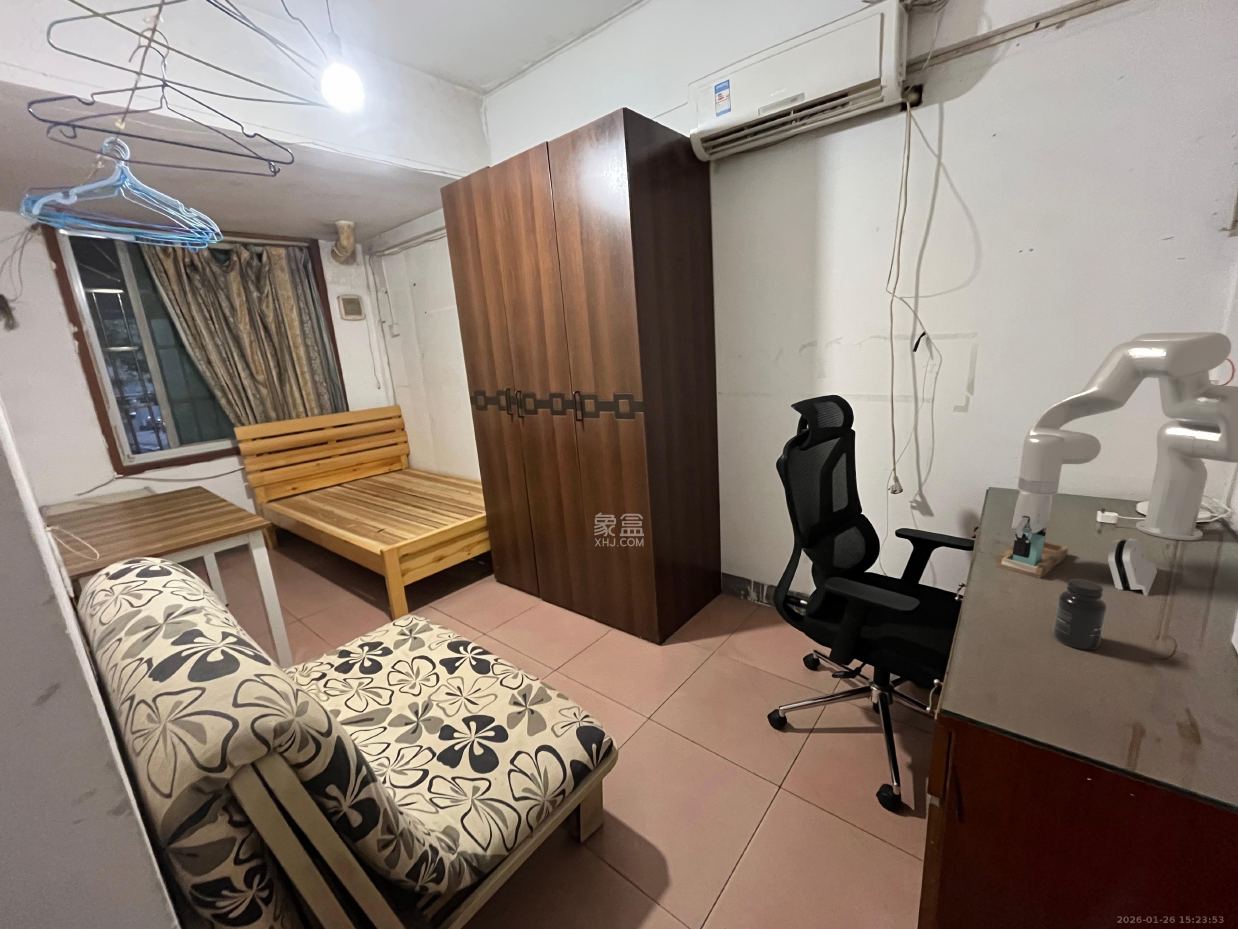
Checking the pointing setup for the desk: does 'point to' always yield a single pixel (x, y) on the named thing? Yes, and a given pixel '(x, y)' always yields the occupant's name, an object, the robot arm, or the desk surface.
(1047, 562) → the slot board
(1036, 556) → the aqua rectangular block
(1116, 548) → the white piece
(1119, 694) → the desk surface
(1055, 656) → the desk surface
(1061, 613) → the supplement bottle
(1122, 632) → the desk surface
